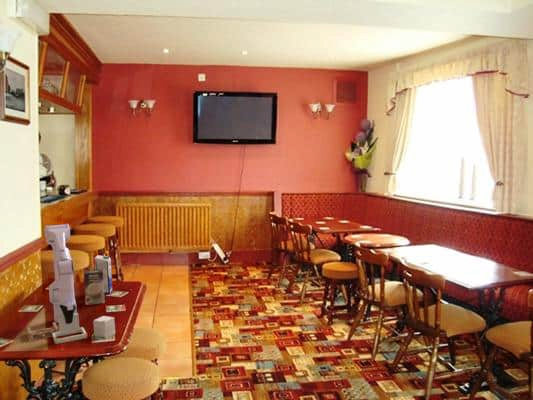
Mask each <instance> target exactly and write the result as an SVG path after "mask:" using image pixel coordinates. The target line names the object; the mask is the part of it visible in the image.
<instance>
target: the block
mask: <svg viewBox="0 0 533 400" xmlns="http://www.w3.org/2000/svg"><path fill="white" fill-rule="evenodd" d="M79 318H80V317H79V313H78V312H77V313H76V314H73V320H72V323H70V324H66V321H65V317H64V316H58V322H59V323H58V332H63V331H68V330H74V329H79V328H80V319H79Z"/></svg>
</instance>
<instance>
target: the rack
mask: <svg viewBox="0 0 533 400" xmlns="http://www.w3.org/2000/svg"><path fill="white" fill-rule="evenodd" d="M48 330H55V332H59V326H58V325H57V322H55V321H54V322H52V327H49V328H48V327H47V328H43V329H38V330H31V327H30V326H26V332H27V337H28V338H27V339H28V340H29V342H32V341H34V340H33V338H32V333H38V332H43V338H41V339H46V338H49V337H46V338H45V333H44V331H48ZM51 337H52V336H51ZM51 337H50V338H51ZM52 338H53V337H52ZM41 339H40V340H41ZM37 340H38V341H39V339H36V340H35V341H37Z"/></svg>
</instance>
